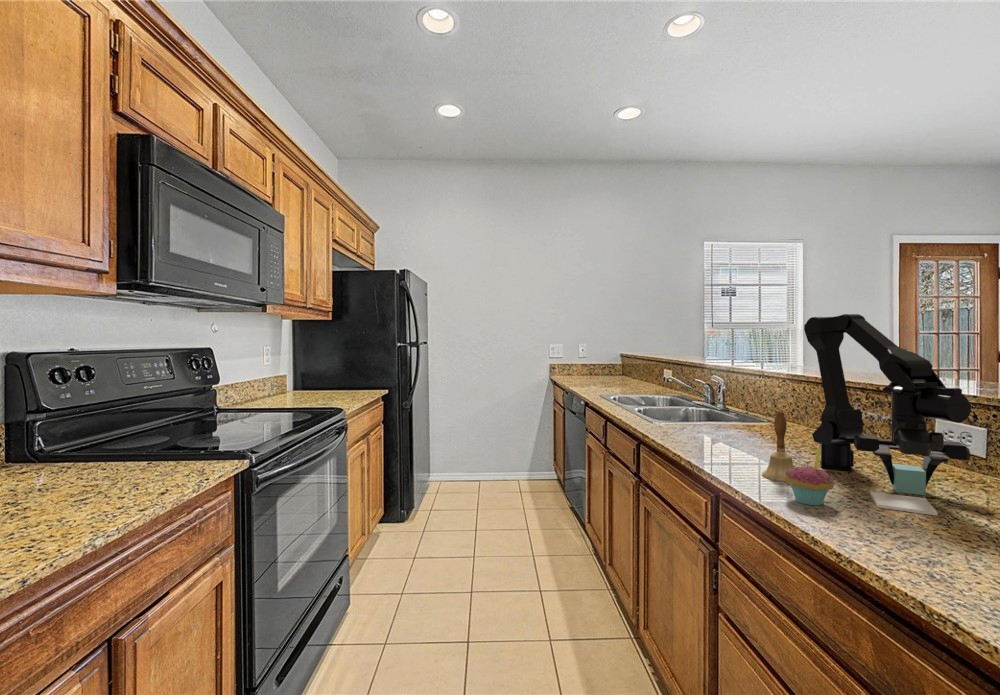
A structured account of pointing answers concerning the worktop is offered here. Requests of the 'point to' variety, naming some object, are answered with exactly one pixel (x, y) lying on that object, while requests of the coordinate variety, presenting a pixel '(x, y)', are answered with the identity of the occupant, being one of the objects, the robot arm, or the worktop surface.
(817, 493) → the cupcake
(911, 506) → the tile
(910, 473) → the cube
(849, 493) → the worktop surface
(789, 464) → the hand bell
